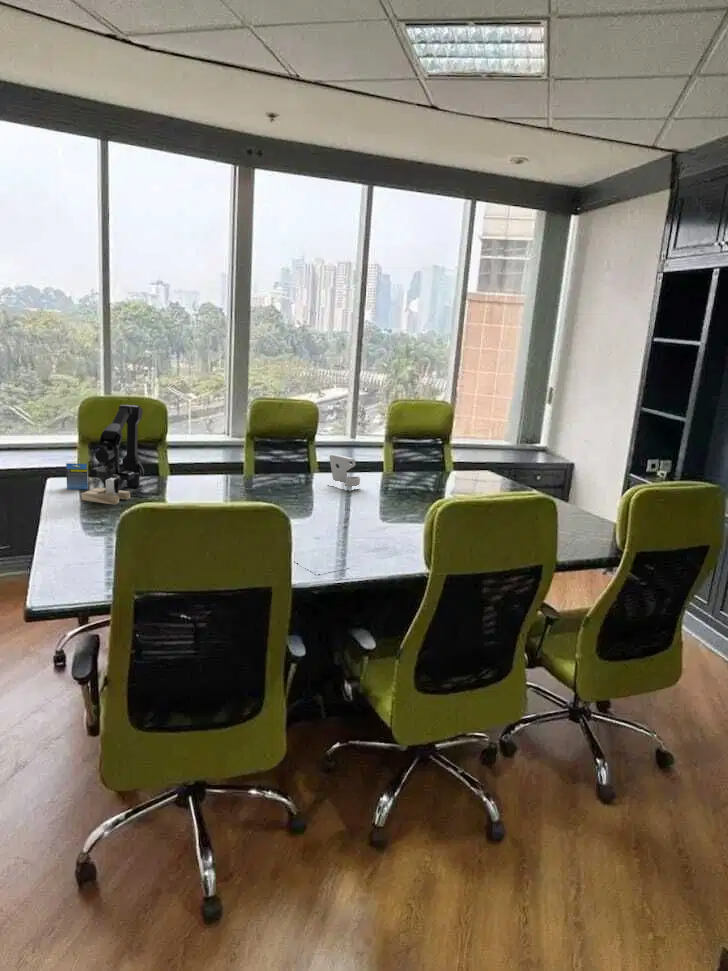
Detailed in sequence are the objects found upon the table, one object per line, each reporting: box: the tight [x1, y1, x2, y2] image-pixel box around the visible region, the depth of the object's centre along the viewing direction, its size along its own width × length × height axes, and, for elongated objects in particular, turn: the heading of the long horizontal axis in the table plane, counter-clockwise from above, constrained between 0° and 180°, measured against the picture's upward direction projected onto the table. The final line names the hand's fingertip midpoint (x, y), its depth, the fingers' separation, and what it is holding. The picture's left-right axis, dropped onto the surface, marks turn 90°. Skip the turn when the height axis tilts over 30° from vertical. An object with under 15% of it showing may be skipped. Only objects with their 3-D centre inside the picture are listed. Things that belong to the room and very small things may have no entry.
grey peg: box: [105, 477, 119, 496], centre depth 265 cm, size 4×4×8 cm
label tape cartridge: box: [65, 462, 89, 490], centre depth 278 cm, size 9×4×12 cm, turn 108°
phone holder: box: [329, 453, 361, 487], centre depth 325 cm, size 17×10×18 cm, turn 55°
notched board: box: [81, 487, 131, 505], centre depth 267 cm, size 12×16×3 cm
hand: (112, 492), depth 266 cm, fingers closed on grey peg, 4 cm apart
